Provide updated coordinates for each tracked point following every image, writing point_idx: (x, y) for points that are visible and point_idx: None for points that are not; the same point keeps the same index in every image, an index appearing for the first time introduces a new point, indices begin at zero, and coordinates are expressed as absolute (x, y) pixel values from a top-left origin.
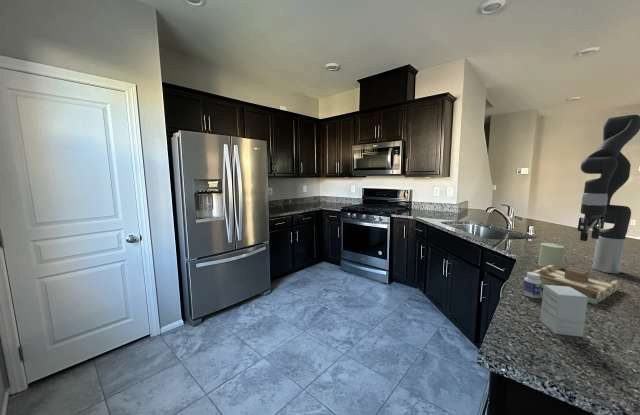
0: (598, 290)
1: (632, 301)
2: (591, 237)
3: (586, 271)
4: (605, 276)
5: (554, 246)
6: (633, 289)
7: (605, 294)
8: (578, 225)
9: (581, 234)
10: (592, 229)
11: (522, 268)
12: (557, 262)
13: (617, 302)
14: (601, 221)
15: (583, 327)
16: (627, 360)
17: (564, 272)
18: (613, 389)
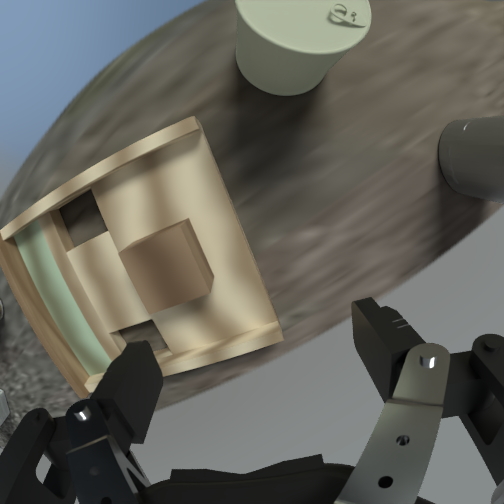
0: None
1: (218, 382)
2: (355, 302)
3: (195, 291)
4: (399, 205)
5: (291, 20)
6: (342, 320)
7: None
8: (2, 458)
9: (97, 394)
10: (406, 356)
11: (113, 74)
12: (278, 83)
13: (165, 380)
14: (499, 478)
15: (3, 421)
16: None
17: (205, 179)
18: (3, 443)
